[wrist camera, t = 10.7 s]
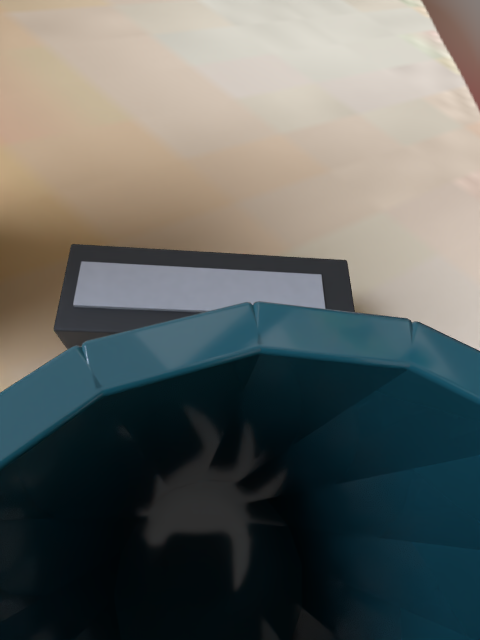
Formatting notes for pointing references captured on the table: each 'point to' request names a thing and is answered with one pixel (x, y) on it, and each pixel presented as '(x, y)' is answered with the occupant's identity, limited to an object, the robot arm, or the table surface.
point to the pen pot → (245, 482)
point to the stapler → (184, 287)
